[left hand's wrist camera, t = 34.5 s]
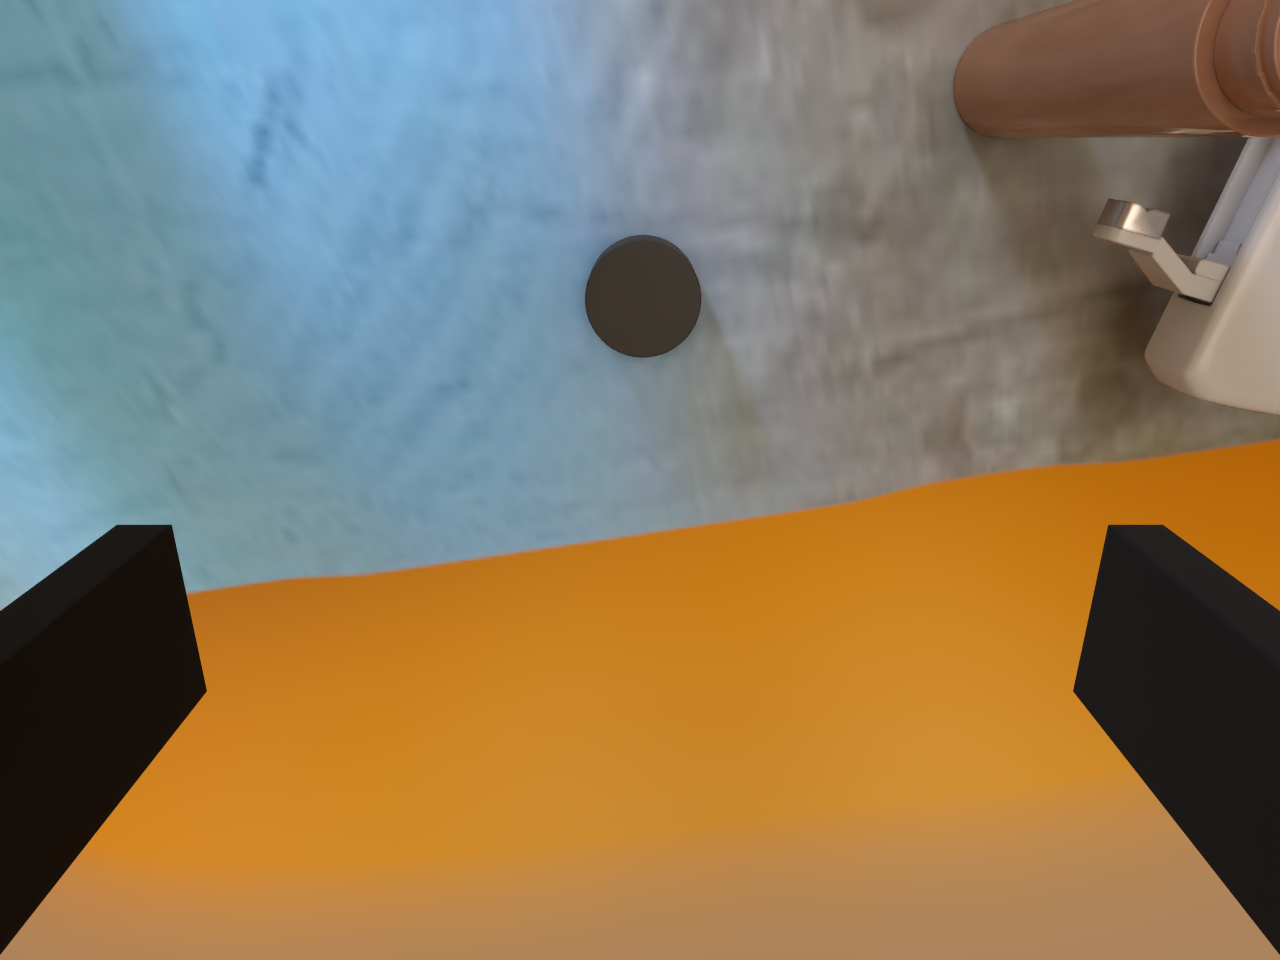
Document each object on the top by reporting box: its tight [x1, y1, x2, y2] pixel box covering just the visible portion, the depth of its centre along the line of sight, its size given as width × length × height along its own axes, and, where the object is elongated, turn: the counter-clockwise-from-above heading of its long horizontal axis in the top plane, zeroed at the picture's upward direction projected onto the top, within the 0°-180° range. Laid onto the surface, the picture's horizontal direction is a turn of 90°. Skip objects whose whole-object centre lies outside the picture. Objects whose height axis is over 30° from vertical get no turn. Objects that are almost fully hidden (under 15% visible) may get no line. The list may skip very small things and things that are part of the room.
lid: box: [585, 235, 701, 357], centre depth 39 cm, size 5×5×2 cm
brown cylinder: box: [954, 0, 1280, 138], centre depth 28 cm, size 4×4×20 cm
